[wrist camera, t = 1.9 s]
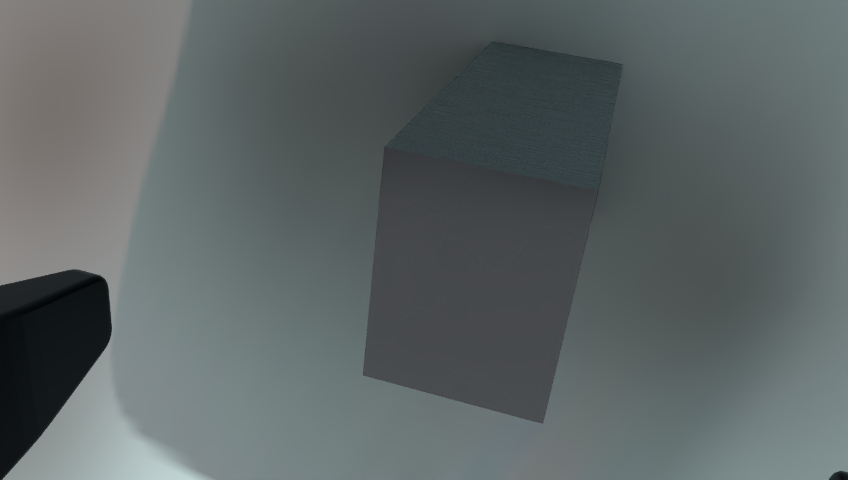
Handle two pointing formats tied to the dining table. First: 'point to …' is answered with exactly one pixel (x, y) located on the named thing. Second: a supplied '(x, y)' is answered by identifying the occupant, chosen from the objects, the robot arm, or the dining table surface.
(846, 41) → the dining table surface
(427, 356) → the tall grey box
